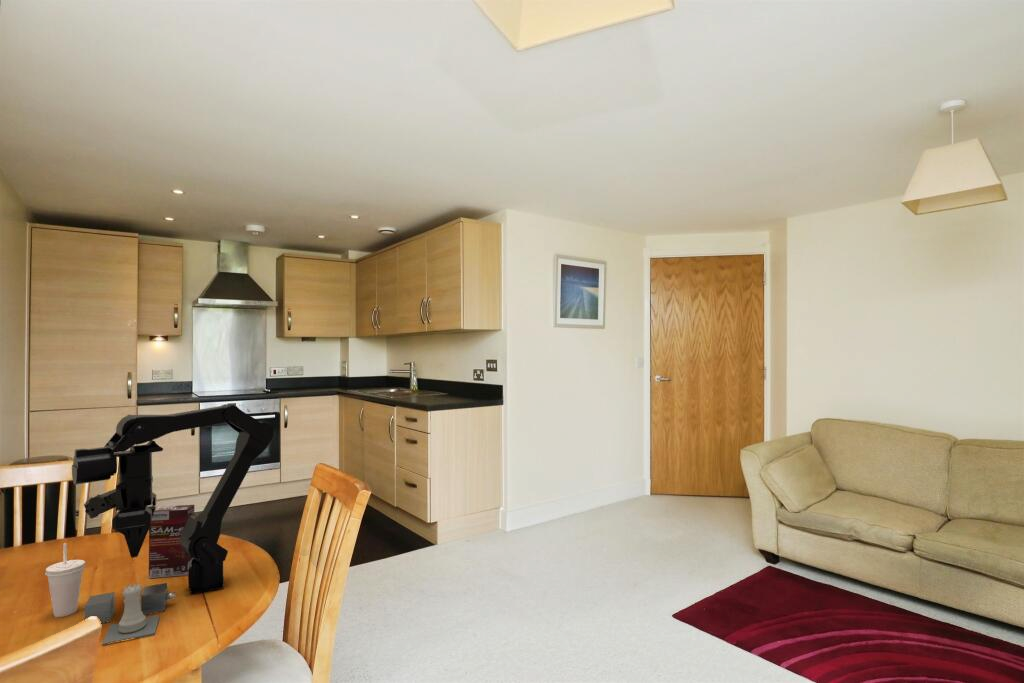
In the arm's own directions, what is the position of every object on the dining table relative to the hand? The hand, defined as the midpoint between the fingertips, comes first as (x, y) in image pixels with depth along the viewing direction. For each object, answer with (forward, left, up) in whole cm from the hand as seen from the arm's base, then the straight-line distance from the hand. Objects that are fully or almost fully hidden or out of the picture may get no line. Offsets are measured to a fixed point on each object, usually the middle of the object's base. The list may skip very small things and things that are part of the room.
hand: (136, 550), depth 114 cm
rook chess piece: (-1, +11, -12) cm, 16 cm away
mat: (-1, +11, -12) cm, 17 cm away
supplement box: (-5, -18, -12) cm, 22 cm away
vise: (+1, +2, -12) cm, 12 cm away
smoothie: (+13, -5, -12) cm, 18 cm away
